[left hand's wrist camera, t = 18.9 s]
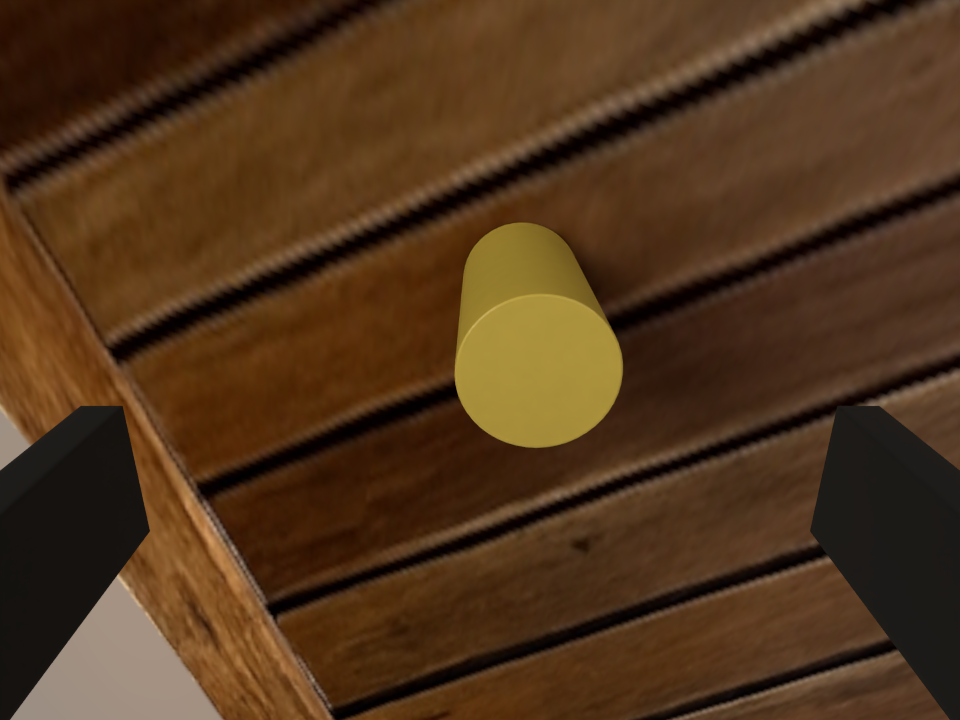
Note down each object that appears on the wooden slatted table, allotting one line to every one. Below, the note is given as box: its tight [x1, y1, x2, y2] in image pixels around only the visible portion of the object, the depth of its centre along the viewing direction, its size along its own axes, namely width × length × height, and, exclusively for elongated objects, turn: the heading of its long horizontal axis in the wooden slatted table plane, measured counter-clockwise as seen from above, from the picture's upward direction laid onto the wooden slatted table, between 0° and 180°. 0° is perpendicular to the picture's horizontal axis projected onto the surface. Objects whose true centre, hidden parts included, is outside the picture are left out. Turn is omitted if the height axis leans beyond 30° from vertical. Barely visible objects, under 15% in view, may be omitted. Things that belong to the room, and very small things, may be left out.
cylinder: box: [455, 223, 623, 448], centre depth 26 cm, size 5×5×11 cm
